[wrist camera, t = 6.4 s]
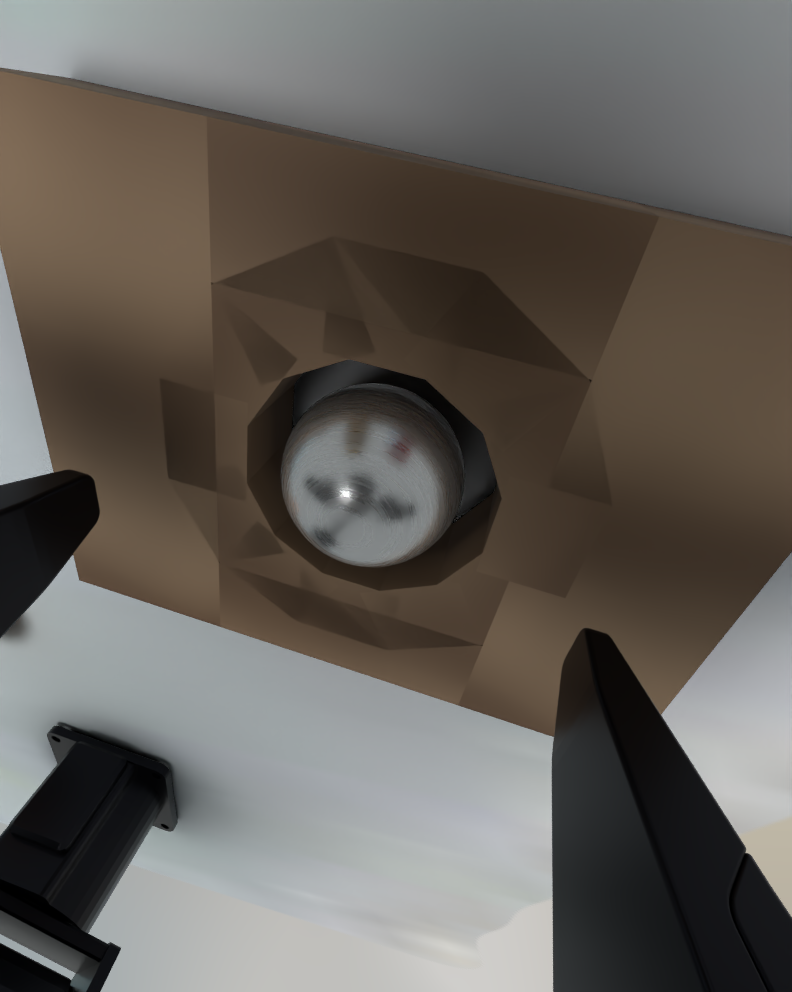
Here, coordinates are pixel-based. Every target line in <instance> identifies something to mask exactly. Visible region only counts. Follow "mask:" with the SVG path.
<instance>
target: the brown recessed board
mask: <svg viewBox="0 0 792 992" xmlns="http://www.w3.org/2000/svg"><path fill="white" fill-rule="evenodd" d="M0 248H1V253H2V257H3V261H4V265H5V269H6V274H7V278H8V282H9V286H10V290H11V295H12V299H13V303H14V307H15V311H16V316H17V320H18V324H19V328H20V332H21V337H22V341H23V345H24V349H25V354H26V358H27V362H28V366H29V370H30V375H31V379H32V383H33V387H34V391H35V396H36V400H37V404H38V408H39V412H40V417H41V421H42V425H43V429H44V433H45V438H46V442H47V446H48V450H49V454H50V459H51V463H52V467H53V471H54V472H58V471H62V470H67V469H70V470H75V471H79V472H82V473H85V474H88V475H90V476H91V477H92V478H93V479H94V481H95V486H96V491H97V497H98V502H99V507H100V516H99V519H98V521H97V523H96V525H95V526H94V527H93V529H92V530H91V531H90V532H89V534H88V535H87V536H86V538H85V539H84V540H83V542H82V543H81V544H80V546H79V547H78V548H77V550H76V551H75V552H74V553H73V555H74V560H75V564H76V568H77V572H78V576H79V580H81V581H84V582H87V583H90V584H93V585H96V586H99V587H102V588H105V589H108V590H111V591H114V592H117V593H120V594H123V595H126V596H129V597H132V598H135V599H138V600H141V601H144V602H147V603H150V604H153V605H156V606H159V607H162V608H165V609H168V610H171V611H174V612H177V613H180V614H183V615H186V616H189V617H192V618H195V619H199V620H202V621H205V622H208V623H211V624H214V625H217V626H220V627H223V628H226V629H229V630H232V631H235V632H238V633H241V634H244V635H247V636H250V637H253V638H256V639H259V640H262V641H265V642H268V643H271V644H274V645H277V646H280V647H283V648H286V649H289V650H292V651H295V652H298V653H301V654H304V655H307V656H310V657H313V658H316V659H320V660H323V661H326V662H329V663H332V664H335V665H338V666H341V667H344V668H347V669H350V670H353V671H356V672H359V673H362V674H365V675H368V676H371V677H374V678H377V679H380V680H383V681H386V682H389V683H392V684H395V685H398V686H401V687H404V688H407V689H410V690H413V691H416V692H419V693H422V694H425V695H428V696H431V697H434V698H438V699H441V700H444V701H447V702H450V703H453V704H456V705H459V706H462V707H465V708H468V709H471V710H474V711H477V712H480V713H483V714H486V715H489V716H492V717H495V718H498V719H501V720H504V721H507V722H510V723H513V724H516V725H519V726H522V727H525V728H528V729H531V730H534V731H537V732H540V733H543V734H546V735H549V736H552V737H554V733H555V724H556V715H557V706H558V697H559V688H560V679H561V671H562V666H563V662H564V659H565V657H566V655H567V653H568V652H569V650H570V648H571V646H572V645H573V643H574V641H575V639H576V637H577V636H578V634H579V632H580V631H581V630H582V629H583V628H590V629H594V630H597V631H600V632H603V633H606V634H608V635H609V636H610V637H611V638H612V639H613V641H614V643H615V644H616V646H617V647H618V649H619V650H620V652H621V653H622V655H623V657H624V658H625V660H626V661H627V663H628V664H629V666H630V668H631V669H632V671H633V672H634V674H635V675H636V677H637V678H638V680H639V682H640V683H641V685H642V686H643V688H644V689H645V691H646V692H647V694H648V696H649V697H650V699H651V700H652V702H653V703H654V705H655V707H656V708H657V710H658V711H659V713H660V714H662V713H663V711H664V710H665V709H666V708H667V706H668V705H669V704H670V703H671V701H672V700H673V699H674V698H675V696H676V695H677V694H678V693H679V691H680V690H681V689H682V688H683V686H684V685H685V684H686V683H687V681H688V680H689V679H690V678H691V676H692V675H693V674H694V673H695V671H696V670H697V669H698V668H699V666H700V665H701V664H702V663H703V661H704V660H705V659H706V658H707V656H708V655H709V654H710V653H711V652H712V650H713V649H714V648H715V647H716V645H717V644H718V643H719V642H720V640H721V639H722V638H723V637H724V635H725V634H726V633H727V632H728V630H729V629H730V628H731V627H732V625H733V624H734V623H735V622H736V620H737V619H738V618H739V617H740V615H741V614H742V613H743V612H744V610H745V609H746V608H747V607H748V605H749V604H750V603H751V602H752V600H753V599H754V598H755V597H756V595H757V594H758V593H759V592H760V590H761V589H762V588H763V587H764V585H765V584H766V583H767V582H768V581H769V579H770V578H771V577H772V576H773V574H774V573H775V572H776V571H777V569H778V568H779V567H780V566H781V564H782V563H783V562H784V561H785V559H786V558H787V557H788V556H789V554H790V553H791V552H792V237H790V236H786V235H781V234H777V233H772V232H767V231H763V230H758V229H754V228H749V227H745V226H740V225H736V224H731V223H726V222H722V221H717V220H713V219H708V218H704V217H699V216H695V215H690V214H685V213H681V212H676V211H672V210H667V209H663V208H658V207H654V206H649V205H645V204H640V203H635V202H631V201H626V200H622V199H617V198H613V197H608V196H604V195H599V194H594V193H590V192H585V191H581V190H576V189H572V188H567V187H563V186H558V185H553V184H549V183H544V182H540V181H535V180H531V179H526V178H522V177H517V176H512V175H508V174H503V173H499V172H494V171H490V170H485V169H481V168H476V167H472V166H467V165H462V164H458V163H453V162H449V161H444V160H440V159H435V158H431V157H426V156H421V155H417V154H412V153H408V152H403V151H399V150H394V149H390V148H385V147H380V146H376V145H371V144H367V143H362V142H358V141H353V140H349V139H344V138H340V137H335V136H330V135H326V134H321V133H317V132H312V131H308V130H303V129H299V128H294V127H289V126H285V125H280V124H276V123H271V122H267V121H262V120H258V119H253V118H248V117H244V116H239V115H235V114H230V113H226V112H221V111H217V110H212V109H208V108H203V107H198V106H194V105H189V104H185V103H180V102H176V101H171V100H167V99H162V98H157V97H153V96H148V95H144V94H139V93H135V92H130V91H126V90H121V89H116V88H112V87H107V86H103V85H98V84H94V83H89V82H85V81H80V80H76V79H71V78H65V77H59V76H52V75H45V74H39V73H32V72H26V71H19V70H12V69H6V68H0ZM348 359H350V360H354V361H358V362H361V363H365V364H369V365H373V366H376V367H380V368H384V369H388V370H392V371H395V372H399V373H403V374H407V375H410V376H414V377H418V378H422V379H425V380H427V381H428V382H429V383H430V384H431V385H432V386H433V387H434V388H435V389H436V390H437V391H438V392H439V393H441V394H442V395H443V396H444V397H445V398H446V399H447V400H448V401H449V402H450V403H451V404H452V405H453V406H454V407H455V408H457V409H458V410H459V411H460V412H461V413H462V414H463V415H464V416H465V417H466V418H467V419H468V420H469V421H470V422H471V423H473V424H474V425H475V426H476V427H477V428H478V429H479V430H480V431H481V432H482V433H483V435H484V438H485V442H486V445H487V449H488V452H489V456H490V459H491V463H492V466H493V470H494V473H495V476H496V480H497V484H496V487H495V490H494V493H492V494H491V495H490V496H489V497H487V498H486V499H485V500H483V501H482V502H481V503H479V504H478V505H477V506H476V507H474V508H473V509H472V510H470V511H469V512H468V513H467V514H465V515H464V516H463V517H461V518H460V519H459V520H457V521H456V522H455V523H453V524H451V525H450V526H449V528H448V529H447V531H446V532H445V533H444V534H443V535H442V537H441V538H440V539H439V540H438V541H437V542H436V543H434V544H433V545H432V546H431V547H430V548H429V549H427V550H426V551H424V552H423V553H421V554H420V555H418V556H416V557H414V558H412V559H410V560H408V561H405V562H402V563H399V564H395V565H391V566H386V567H361V566H354V565H350V564H346V563H343V562H341V561H338V560H336V559H333V558H331V557H329V556H328V555H326V554H324V553H323V552H321V551H320V550H318V549H317V548H316V547H315V546H313V545H312V544H311V543H310V542H309V541H308V540H307V539H306V538H305V537H304V536H303V535H302V533H301V532H300V531H299V529H298V528H297V527H296V525H295V524H294V522H293V520H292V519H291V517H290V514H289V512H288V510H287V507H286V504H285V501H284V498H283V493H282V487H281V465H282V458H283V453H284V449H285V446H286V443H287V441H288V438H289V436H290V434H291V431H292V416H293V401H294V386H295V383H296V381H297V380H298V379H299V378H300V376H301V375H302V374H303V373H304V372H307V371H311V370H314V369H318V368H321V367H324V366H328V365H331V364H335V363H338V362H342V361H345V360H348Z"/></svg>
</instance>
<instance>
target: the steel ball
mask: <svg viewBox="0 0 792 992" xmlns="http://www.w3.org/2000/svg"><path fill="white" fill-rule="evenodd" d="M464 481H465V469H464V460H463V455H462V451H461V447H460V445H459V442H458V440H457V437H456V435H455V433H454V432H453V430H452V428H451V426H450V424H449V423H448V422H447V420H446V419H445V418H444V416H443V415H442V414H441V413H440V412H439V411H438V410H437V409H436V408H435V407H434V406H433V405H431V404H430V403H429V402H428V401H426V400H425V399H423V398H422V397H420V396H418V395H417V394H415V393H413V392H410V391H408V390H406V389H403V388H400V387H397V386H393V385H388V384H378V383H369V384H358V385H353V386H348V387H345V388H342V389H340V390H337V391H335V392H333V393H331V394H329V395H327V396H325V397H323V398H322V399H321V400H319V401H318V402H317V403H315V404H314V405H313V406H312V407H310V408H309V409H308V410H307V411H306V412H305V413H304V415H303V416H302V417H301V418H300V420H299V421H298V423H297V424H296V425H295V427H294V428H293V430H292V432H291V434H290V436H289V438H288V441H287V443H286V446H285V449H284V453H283V458H282V465H281V487H282V493H283V498H284V501H285V504H286V507H287V510H288V512H289V514H290V517H291V519H292V520H293V522H294V524H295V525H296V527H297V528H298V529H299V531H300V532H301V533H302V535H303V536H304V537H305V538H306V539H307V540H308V541H309V542H310V543H311V544H312V545H313V546H315V547H316V548H317V549H318V550H320V551H321V552H323V553H324V554H326V555H328V556H329V557H331V558H333V559H336V560H338V561H341V562H343V563H346V564H350V565H354V566H361V567H386V566H391V565H395V564H399V563H402V562H405V561H408V560H410V559H412V558H414V557H416V556H418V555H420V554H421V553H423V552H424V551H426V550H427V549H429V548H430V547H431V546H432V545H433V544H434V543H436V542H437V541H438V540H439V539H440V538H441V537H442V535H443V534H444V533H445V532H446V531H447V529H448V528H449V526H450V525H451V523H452V521H453V520H454V518H455V516H456V513H457V511H458V508H459V506H460V503H461V500H462V496H463V491H464Z"/></svg>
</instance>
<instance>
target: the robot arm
mask: <svg viewBox="0 0 792 992" xmlns="http://www.w3.org/2000/svg"><path fill="white" fill-rule="evenodd" d="M99 516H100V507H99V502H98V497H97V491H96V486H95V481H94V479H93V478H92V477H91V476H90V475H88V474H85V473H82V472H79V471H75V470H70V469H67V470H62V471H58V472H54V473H50V474H46V475H41V476H37V477H33V478H29V479H25V480H21V481H16V482H12V483H8V484H4V485H0V638H1V637H2V636H3V635H4V634H5V633H6V631H7V630H8V629H9V628H10V627H11V626H12V625H13V624H14V623H15V622H16V621H17V620H18V619H19V618H20V616H21V615H22V614H23V613H24V612H25V611H26V610H27V609H28V608H29V607H30V606H31V605H32V604H33V603H34V602H35V600H36V599H37V598H38V597H39V596H40V595H41V594H42V593H43V592H44V590H45V589H46V588H47V587H48V586H49V584H50V583H51V582H52V581H53V580H54V578H55V577H56V576H57V574H58V573H59V572H60V571H61V569H62V568H63V567H64V565H65V564H66V563H67V561H68V560H69V559H70V557H71V556H72V555H73V553H74V552H75V551H76V550H77V548H78V547H79V546H80V544H81V543H82V542H83V540H84V539H85V538H86V536H87V535H88V534H89V532H90V531H91V530H92V529H93V527H94V526H95V525H96V523H97V521H98V519H99ZM47 737H48V739H49V742H50V745H51V747H52V750H53V753H54V755H55V758H56V761H57V763H58V764H57V766H56V767H55V768H54V769H53V770H52V772H51V773H50V774H49V775H48V777H47V778H46V779H45V780H44V782H43V783H42V784H41V785H40V786H39V788H38V789H37V790H36V791H35V793H34V794H33V795H32V796H31V798H30V799H29V800H28V801H27V802H26V804H25V805H24V806H23V807H22V809H21V810H20V811H19V812H18V814H17V815H16V816H15V817H14V819H13V820H12V821H11V822H10V824H9V826H8V827H7V828H6V829H5V831H4V832H3V833H2V834H1V836H0V934H2V935H4V936H5V937H8V938H9V939H12V940H13V941H15V942H17V943H19V944H21V945H23V946H25V947H27V948H28V949H30V950H32V951H34V952H36V953H38V954H40V955H42V956H44V957H46V958H48V959H50V960H52V961H54V962H55V963H57V964H59V965H61V966H63V967H65V968H67V969H69V970H71V971H73V972H75V973H76V974H75V976H74V977H73V979H72V980H70V979H69V978H67V977H65V976H63V975H61V974H59V973H57V972H55V971H53V970H51V969H49V968H47V967H46V966H43V965H42V964H40V963H38V962H36V961H34V960H32V959H30V958H28V957H26V956H24V955H22V954H20V953H18V952H17V951H15V950H13V949H11V948H9V947H7V946H5V945H3V944H1V943H0V992H100V991H101V989H102V987H103V985H104V982H105V981H106V979H107V977H108V975H109V973H110V970H111V968H112V966H113V964H114V962H115V960H116V958H117V956H118V954H119V952H120V950H121V948H120V947H118V946H116V945H115V944H113V943H111V942H110V943H108V944H107V943H105V942H103V941H101V940H99V939H97V938H95V937H94V936H92V935H90V934H88V933H89V931H90V929H91V928H92V926H93V924H94V922H95V921H96V919H97V917H98V916H99V914H100V912H101V911H102V909H103V907H104V906H105V904H106V902H107V901H108V899H109V897H110V896H111V894H112V892H113V891H114V889H115V887H116V886H117V884H118V882H119V881H120V879H121V877H122V876H123V874H124V872H125V871H126V869H127V867H128V866H129V864H130V862H131V861H132V859H133V857H134V856H135V854H136V852H137V850H138V849H139V847H140V845H141V844H142V842H143V840H144V839H145V837H146V835H147V834H148V832H149V830H150V829H151V827H152V826H155V827H158V828H160V829H163V830H166V831H170V832H171V831H173V830H174V828H175V826H176V825H177V815H176V808H175V800H174V793H173V786H172V779H171V772H170V769H169V768H168V767H167V766H165V765H164V764H161V763H159V762H156V761H154V760H151V759H148V758H145V757H143V756H140V755H137V754H134V753H132V752H129V751H126V750H123V749H121V748H118V747H115V746H112V745H110V744H107V743H104V742H101V741H99V740H96V739H93V738H90V737H88V736H85V735H82V734H79V733H77V732H74V731H71V730H69V729H66V728H63V727H60V726H54V727H53V728H52V729H51V730H50V731H49V732H48V733H47ZM745 852H746V847H745V845H744V844H743V842H742V841H741V839H740V838H739V836H738V834H737V833H736V831H735V830H734V828H733V827H732V825H731V824H730V822H729V820H728V819H727V817H726V816H725V814H724V813H723V811H722V809H721V808H720V806H719V805H718V803H717V802H716V800H715V799H714V797H713V795H712V794H711V792H710V791H709V789H708V788H707V786H706V785H705V783H704V781H703V780H702V778H701V777H700V775H699V774H698V772H697V770H696V769H695V767H694V766H693V764H692V763H691V761H690V760H689V758H688V756H687V755H686V753H685V752H684V750H683V749H682V747H681V746H680V744H679V742H678V741H677V739H676V738H675V736H674V735H673V733H672V731H671V730H670V728H669V727H668V725H667V724H666V722H665V721H664V719H663V717H662V716H661V714H660V713H659V711H658V710H657V708H656V707H655V705H654V703H653V702H652V700H651V699H650V697H649V696H648V694H647V692H646V691H645V689H644V688H643V686H642V685H641V683H640V682H639V680H638V678H637V677H636V675H635V674H634V672H633V671H632V669H631V668H630V666H629V664H628V663H627V661H626V660H625V658H624V657H623V655H622V653H621V652H620V650H619V649H618V647H617V646H616V644H615V643H614V641H613V639H612V638H611V637H610V636H609V635H608V634H606V633H603V632H600V631H597V630H594V629H590V628H583V629H582V630H581V631H580V632H579V634H578V636H577V637H576V639H575V641H574V643H573V645H572V646H571V648H570V650H569V652H568V653H567V655H566V657H565V659H564V662H563V666H562V671H561V679H560V688H559V697H558V706H557V715H556V724H555V733H554V742H553V752H552V876H553V992H792V917H791V916H790V914H789V913H788V911H787V910H786V908H785V907H784V905H783V904H782V902H781V901H780V899H779V898H778V896H777V895H776V893H775V892H774V890H773V889H772V887H771V886H770V884H769V883H768V881H767V879H766V878H765V876H764V875H763V873H762V872H761V870H760V869H759V867H758V865H757V864H756V862H755V861H754V859H753V857H752V856H751V855H750V854H748V853H745Z"/></svg>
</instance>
